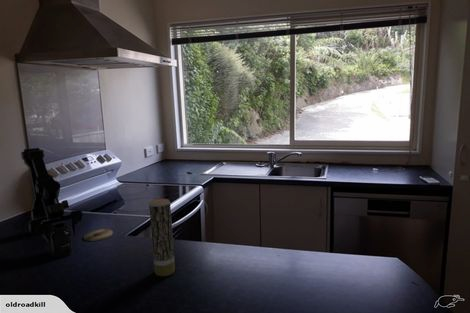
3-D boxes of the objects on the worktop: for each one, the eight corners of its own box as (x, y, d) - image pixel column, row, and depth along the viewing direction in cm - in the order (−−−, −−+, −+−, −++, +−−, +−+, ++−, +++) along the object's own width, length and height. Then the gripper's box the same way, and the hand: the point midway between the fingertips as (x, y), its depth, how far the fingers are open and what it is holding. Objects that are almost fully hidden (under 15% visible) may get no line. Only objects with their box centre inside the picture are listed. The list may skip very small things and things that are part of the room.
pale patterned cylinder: (157, 279, 111) (151, 206, 107) (152, 270, 117) (146, 201, 113) (177, 274, 114) (172, 202, 110) (171, 265, 120) (166, 197, 116)
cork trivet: (77, 239, 147) (77, 237, 147) (96, 229, 158) (96, 227, 158) (100, 242, 143) (100, 240, 143) (118, 231, 154) (118, 230, 154)
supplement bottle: (67, 258, 130) (63, 228, 128) (49, 258, 130) (45, 228, 128) (76, 250, 136) (72, 221, 134) (59, 250, 137) (55, 222, 135)
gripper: (26, 199, 127) (35, 236, 120) (78, 190, 138) (90, 222, 132) (25, 215, 134) (34, 250, 127) (75, 204, 146) (86, 236, 139)
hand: (62, 239), depth 131 cm, fingers open, 8 cm apart
